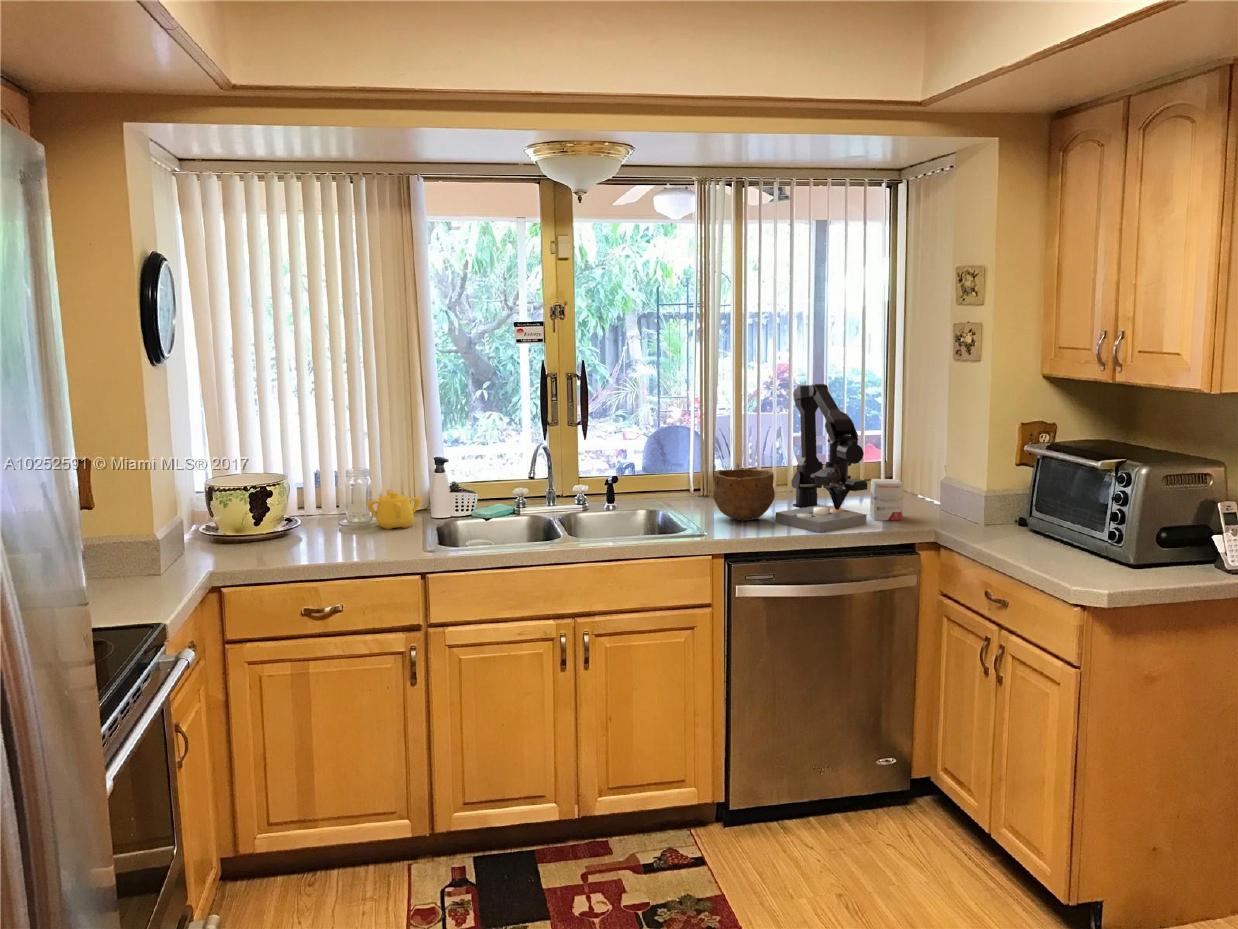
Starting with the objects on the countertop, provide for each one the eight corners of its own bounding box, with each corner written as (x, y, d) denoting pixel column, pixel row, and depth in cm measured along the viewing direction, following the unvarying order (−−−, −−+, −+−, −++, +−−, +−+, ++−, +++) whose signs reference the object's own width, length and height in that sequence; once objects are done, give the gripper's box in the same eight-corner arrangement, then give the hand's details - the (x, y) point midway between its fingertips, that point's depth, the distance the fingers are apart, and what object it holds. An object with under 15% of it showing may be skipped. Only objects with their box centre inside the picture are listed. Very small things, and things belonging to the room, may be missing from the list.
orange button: (826, 518, 297) (826, 509, 297) (836, 517, 300) (836, 507, 299) (837, 521, 294) (837, 511, 293) (847, 519, 296) (847, 509, 296)
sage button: (793, 524, 290) (793, 514, 289) (803, 522, 292) (804, 512, 292) (803, 527, 286) (804, 517, 286) (814, 525, 289) (814, 515, 288)
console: (775, 521, 295) (775, 512, 294) (822, 514, 306) (822, 504, 306) (818, 532, 280) (819, 522, 280) (866, 524, 291) (866, 514, 291)
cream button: (810, 517, 293) (810, 508, 293) (820, 516, 296) (820, 506, 295) (820, 520, 290) (821, 510, 289) (831, 518, 292) (831, 508, 292)
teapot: (361, 528, 288) (360, 494, 286) (388, 520, 299) (387, 487, 297) (399, 532, 282) (398, 497, 280) (425, 524, 293) (424, 490, 292)
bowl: (702, 522, 294) (703, 474, 292) (725, 511, 311) (726, 465, 308) (761, 528, 286) (762, 478, 283) (782, 517, 302) (783, 469, 300)
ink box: (897, 515, 304) (898, 478, 302) (902, 521, 296) (903, 482, 294) (869, 514, 305) (870, 477, 303) (873, 520, 297) (874, 482, 295)
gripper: (797, 457, 297) (796, 507, 300) (843, 465, 282) (841, 517, 284) (823, 454, 303) (821, 503, 306) (869, 461, 288) (867, 513, 291)
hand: (837, 509), depth 296 cm, fingers closed
